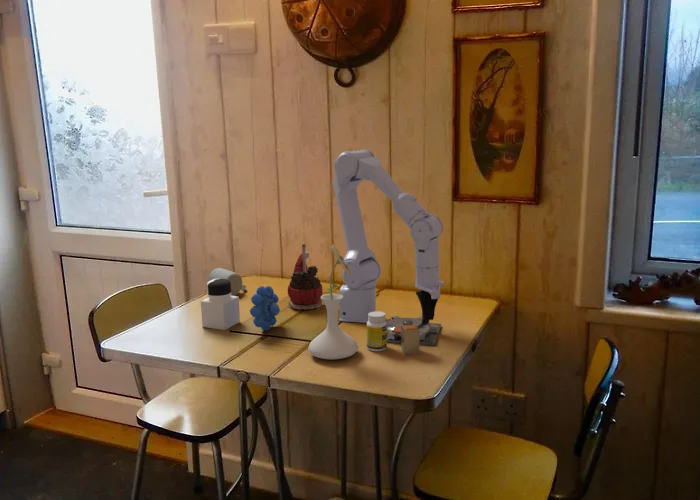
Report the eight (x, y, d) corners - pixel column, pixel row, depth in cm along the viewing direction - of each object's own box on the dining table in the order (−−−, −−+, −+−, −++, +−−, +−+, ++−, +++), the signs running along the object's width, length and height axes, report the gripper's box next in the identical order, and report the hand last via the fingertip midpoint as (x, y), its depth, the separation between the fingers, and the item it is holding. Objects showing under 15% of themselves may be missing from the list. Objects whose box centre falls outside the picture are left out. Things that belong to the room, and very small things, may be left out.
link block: (404, 355, 148) (404, 329, 146) (401, 350, 151) (401, 324, 150) (419, 354, 148) (419, 328, 146) (416, 349, 151) (416, 323, 150)
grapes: (268, 340, 158) (266, 293, 156) (245, 336, 161) (242, 290, 158) (292, 325, 169) (290, 280, 166) (269, 321, 171) (267, 278, 169)
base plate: (372, 341, 156) (372, 338, 156) (383, 322, 170) (383, 319, 170) (434, 345, 153) (434, 343, 153) (441, 325, 166) (441, 323, 166)
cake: (308, 314, 177) (306, 249, 173) (281, 308, 182) (278, 246, 178) (330, 303, 186) (328, 242, 182) (303, 298, 191) (301, 238, 187)
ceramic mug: (226, 299, 191) (225, 274, 190) (207, 295, 196) (206, 270, 194) (252, 291, 200) (251, 267, 198) (233, 287, 204) (232, 263, 203)
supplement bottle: (385, 352, 149) (385, 317, 148) (365, 351, 150) (364, 316, 148) (388, 344, 154) (388, 311, 152) (368, 343, 155) (368, 310, 153)
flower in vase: (353, 365, 142) (352, 254, 137) (303, 362, 144) (299, 253, 139) (363, 343, 155) (361, 241, 149) (316, 341, 157) (313, 240, 151)
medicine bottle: (240, 322, 172) (238, 278, 169) (224, 330, 165) (221, 285, 163) (218, 318, 175) (215, 275, 172) (201, 327, 168) (198, 282, 166)
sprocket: (395, 344, 152) (395, 326, 151) (370, 325, 165) (370, 308, 164) (446, 335, 157) (446, 318, 156) (418, 317, 170) (418, 301, 169)
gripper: (452, 271, 152) (453, 326, 155) (434, 258, 166) (435, 309, 169) (423, 273, 151) (424, 329, 154) (407, 260, 165) (409, 311, 168)
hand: (428, 319), depth 161 cm, fingers closed, pressing on sprocket
